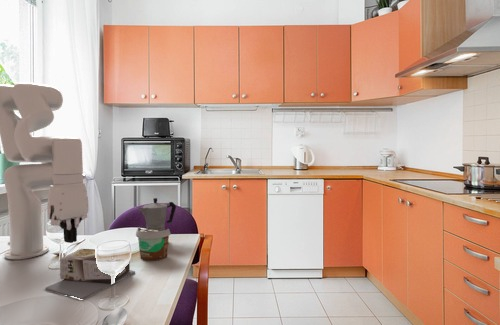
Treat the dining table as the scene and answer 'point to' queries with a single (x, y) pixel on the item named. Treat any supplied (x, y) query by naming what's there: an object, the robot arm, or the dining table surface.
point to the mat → (81, 287)
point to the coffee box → (85, 267)
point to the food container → (153, 244)
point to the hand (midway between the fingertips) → (70, 241)
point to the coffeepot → (157, 214)
